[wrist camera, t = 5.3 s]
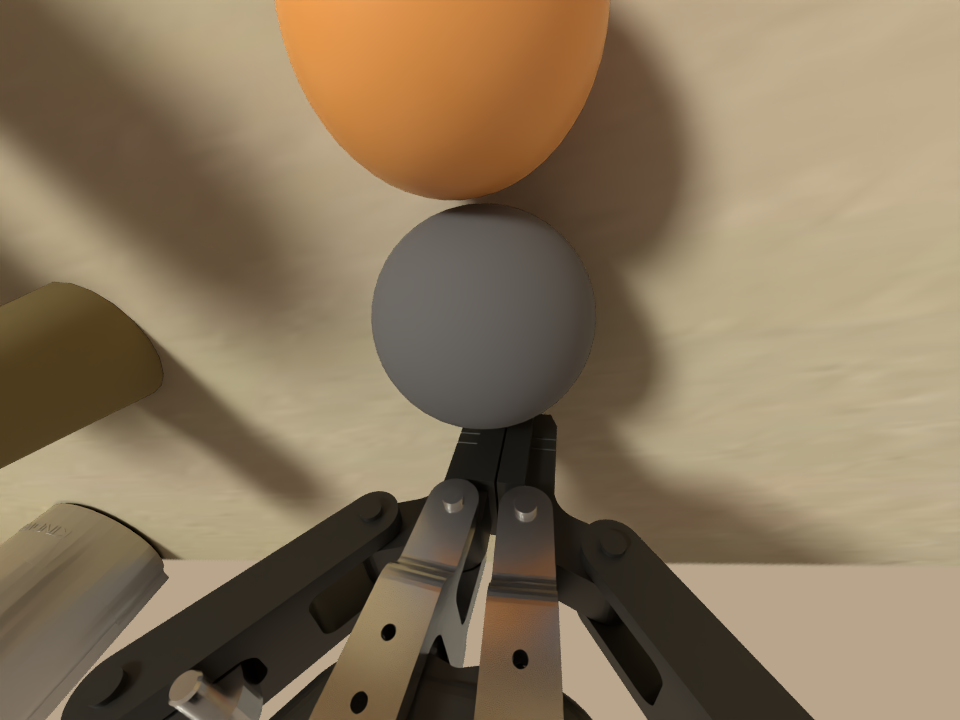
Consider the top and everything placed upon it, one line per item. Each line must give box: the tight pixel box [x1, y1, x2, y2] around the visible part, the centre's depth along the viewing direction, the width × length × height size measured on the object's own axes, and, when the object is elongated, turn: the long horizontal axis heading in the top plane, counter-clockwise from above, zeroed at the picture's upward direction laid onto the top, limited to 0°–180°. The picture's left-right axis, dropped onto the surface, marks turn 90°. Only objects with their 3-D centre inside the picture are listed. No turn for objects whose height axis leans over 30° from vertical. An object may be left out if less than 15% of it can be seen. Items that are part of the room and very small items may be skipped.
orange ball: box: [275, 0, 610, 200], centre depth 7 cm, size 6×6×6 cm
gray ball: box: [372, 203, 596, 429], centre depth 10 cm, size 6×6×6 cm
